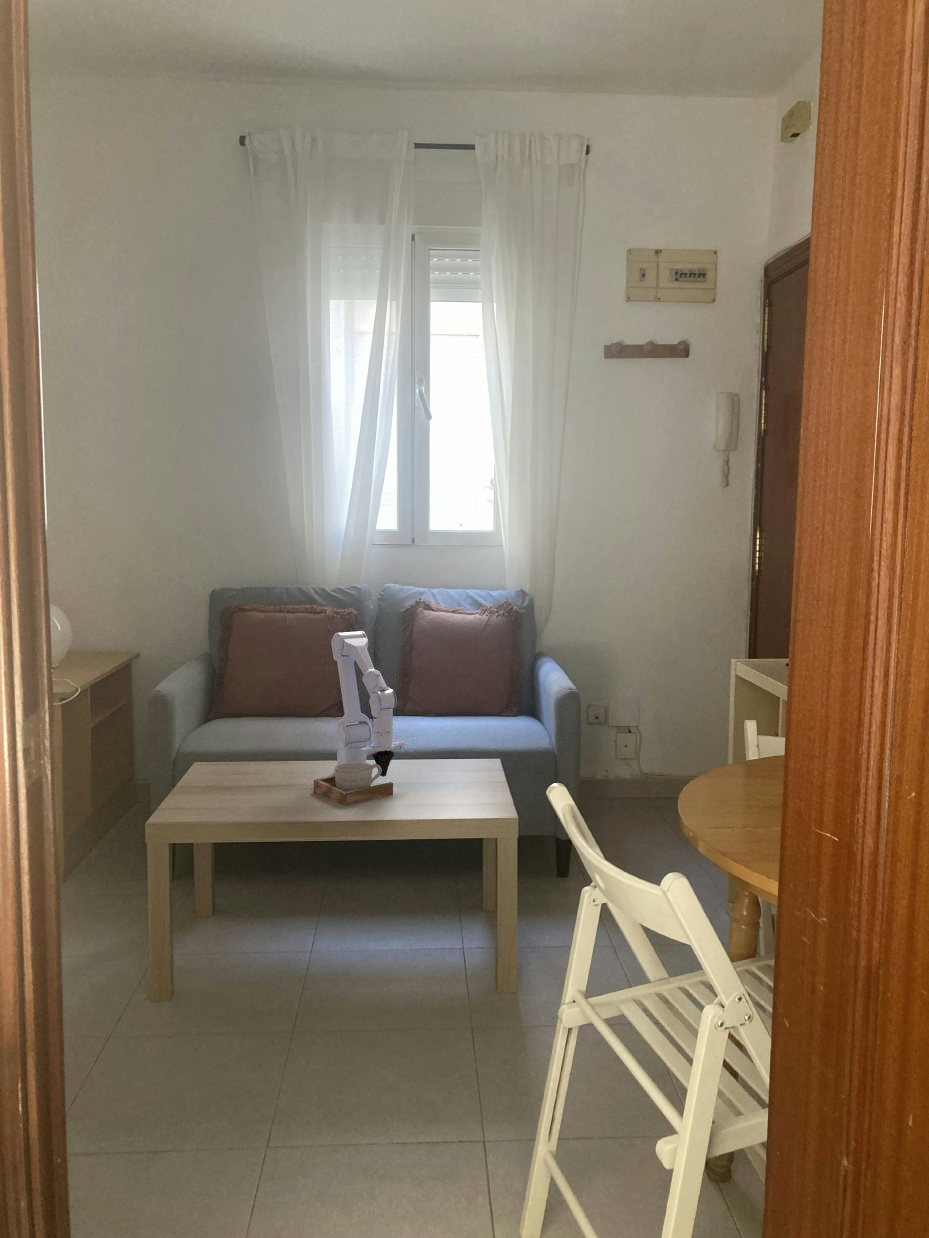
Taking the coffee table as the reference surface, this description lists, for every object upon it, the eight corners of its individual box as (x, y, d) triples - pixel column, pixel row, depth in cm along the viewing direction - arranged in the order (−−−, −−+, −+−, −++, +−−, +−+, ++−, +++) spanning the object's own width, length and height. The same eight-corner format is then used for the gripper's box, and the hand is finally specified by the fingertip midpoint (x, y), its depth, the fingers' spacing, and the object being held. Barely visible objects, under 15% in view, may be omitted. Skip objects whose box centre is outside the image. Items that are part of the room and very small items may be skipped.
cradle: (313, 791, 273) (313, 779, 273) (361, 781, 284) (361, 770, 284) (344, 805, 261) (344, 793, 261) (393, 794, 272) (393, 783, 271)
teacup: (336, 798, 267) (336, 771, 266) (332, 787, 277) (332, 761, 276) (385, 796, 270) (385, 768, 269) (379, 784, 281) (379, 758, 280)
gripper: (370, 737, 269) (369, 783, 271) (410, 729, 279) (410, 774, 280) (356, 732, 275) (356, 777, 276) (396, 725, 284) (396, 769, 286)
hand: (382, 775), depth 279 cm, fingers closed
